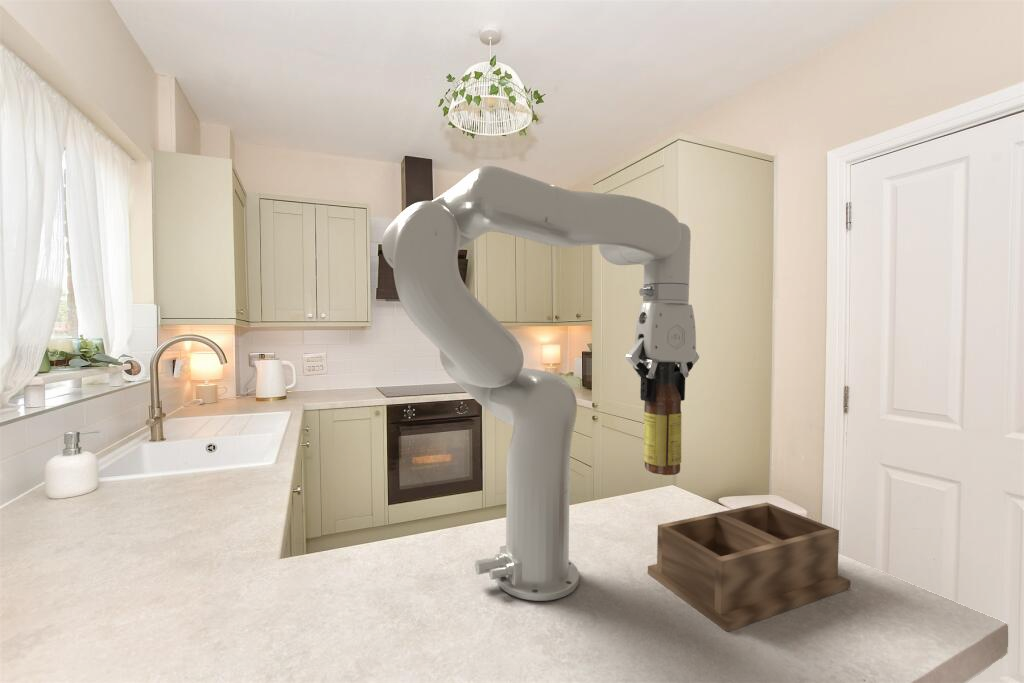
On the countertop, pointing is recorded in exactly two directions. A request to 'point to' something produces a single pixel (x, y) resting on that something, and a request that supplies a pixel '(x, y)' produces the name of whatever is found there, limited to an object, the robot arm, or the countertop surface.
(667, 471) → the sauce bottle
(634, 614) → the countertop surface
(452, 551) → the countertop surface
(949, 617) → the countertop surface
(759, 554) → the caddy
